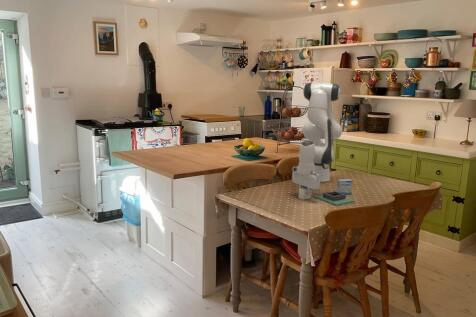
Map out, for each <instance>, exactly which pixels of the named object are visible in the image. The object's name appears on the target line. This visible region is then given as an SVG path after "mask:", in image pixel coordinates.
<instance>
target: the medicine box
mask: <svg viewBox="0 0 476 317" xmlns="http://www.w3.org/2000/svg"><path fill="white" fill-rule="evenodd" d="M335 191H336V192H339V193H342V194H345V195H346V196H347V195H348V196H349V195H352V192H353V180H352V179H350V178H347V179H345V178H344V179H343V178H342V179H336V190H335Z"/></svg>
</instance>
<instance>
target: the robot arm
mask: <svg viewBox="0 0 476 317" xmlns="http://www.w3.org/2000/svg"><path fill="white" fill-rule="evenodd" d="M302 90H303V91H302V92H303V97H304V98H305V99H306V100H308V106H307V114H306V115H307V119H308V121H309V122H306V123H305V124H303V127H302V134H303V136H304V137H305V138H306V139H307V140H305V141H301V143H300V145H299V146H300V147H299V150H298V151H299V152H298V160H299V161H298V165H297V166H293V167H292V175H291V181H292V183H295V184H297V185H298V189H299V188H300V186H305V187H308V191H307V192H306V194H307V195H310V192H311V190H314V191H316V190H319V189H321V188H320V187H321V182H324V183H325V182H329V181H331V175H330V164H331V163H332V162H334V159H335V149H334V140H337V139H339V138H340V137H341V136H342V134H343V128H342V125H341V124H339V123H338V122H337V121H336V120H335V119H334V117H333V102H336V101H337V100H339V98H340V96H341V88H340V85H339V84H338V83H334V82H333V83H329V82H307V83H306V84H305V85H304V87H303V89H302ZM321 140H324V143H323V142H322V141H321Z"/></svg>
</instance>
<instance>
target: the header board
mask: <svg viewBox="0 0 476 317" xmlns="http://www.w3.org/2000/svg"><path fill="white" fill-rule="evenodd" d="M313 199H317V200H319V201H322V202H324V203H327V204H329V205H333V206H335V207H340V206H344V205H349V204H354V203H355V202H356V200H354V199H352V198H348V197H347V195H345V194H342V193H339V192H336V190H333V191H327V192H323V193H322V194H317V195H313ZM348 203H349V204H348ZM343 204H344V205H343ZM339 205H340V206H339Z"/></svg>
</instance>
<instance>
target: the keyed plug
mask: <svg viewBox="0 0 476 317" xmlns="http://www.w3.org/2000/svg"><path fill="white" fill-rule="evenodd" d="M312 190H313V189H312ZM312 190H311V192H310V195H307V194H306V192H307V191H308V187H305V186H300V188H299V187H298V199H301V200H308V199H312V192H313V191H312Z"/></svg>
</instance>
